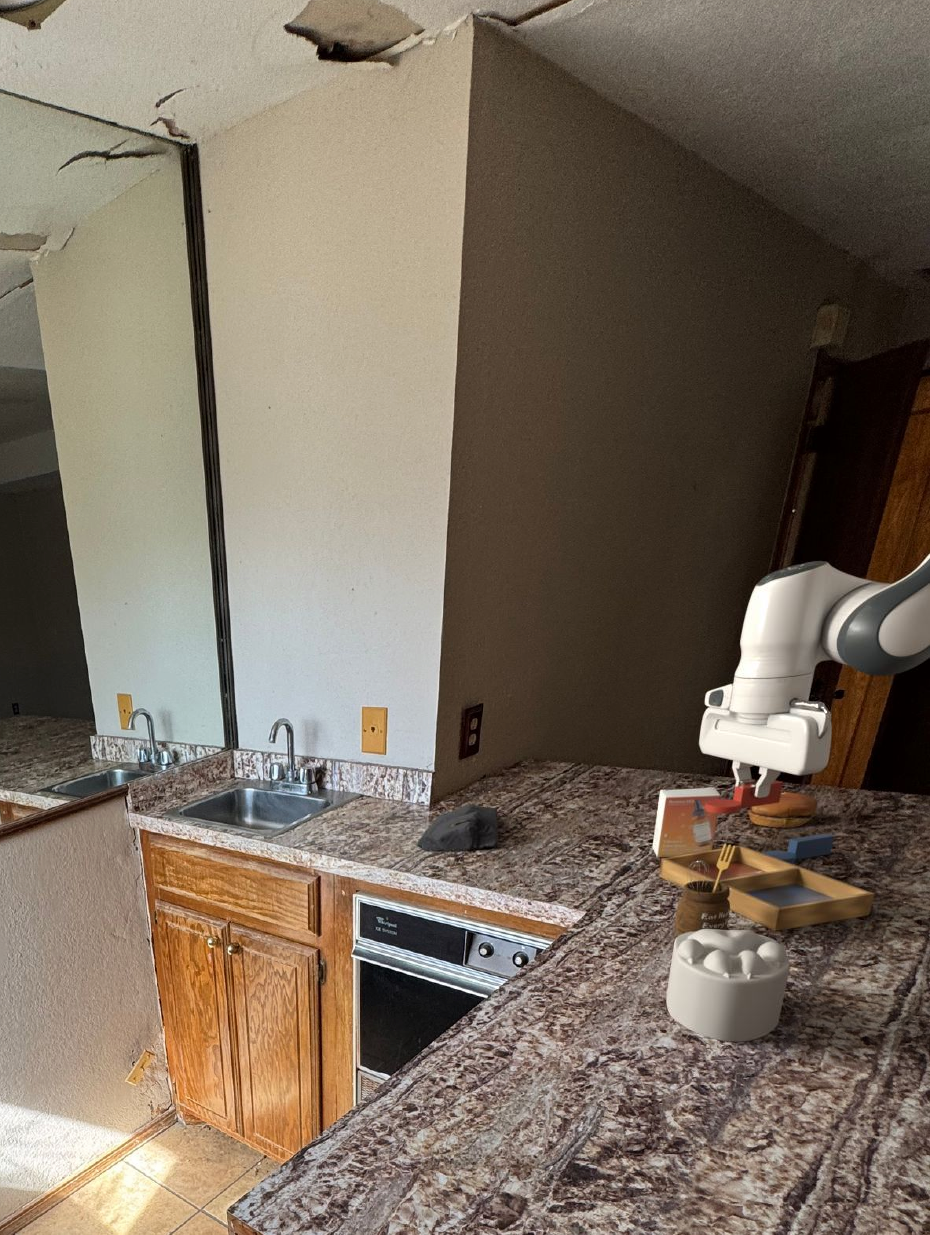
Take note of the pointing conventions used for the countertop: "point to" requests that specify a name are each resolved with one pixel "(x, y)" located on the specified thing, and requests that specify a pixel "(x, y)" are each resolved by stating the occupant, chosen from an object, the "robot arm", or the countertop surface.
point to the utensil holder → (705, 901)
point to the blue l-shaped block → (805, 848)
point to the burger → (785, 811)
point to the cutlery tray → (772, 888)
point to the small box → (684, 822)
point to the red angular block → (744, 799)
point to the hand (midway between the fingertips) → (751, 794)
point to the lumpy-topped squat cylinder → (727, 983)
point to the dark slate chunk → (462, 830)
